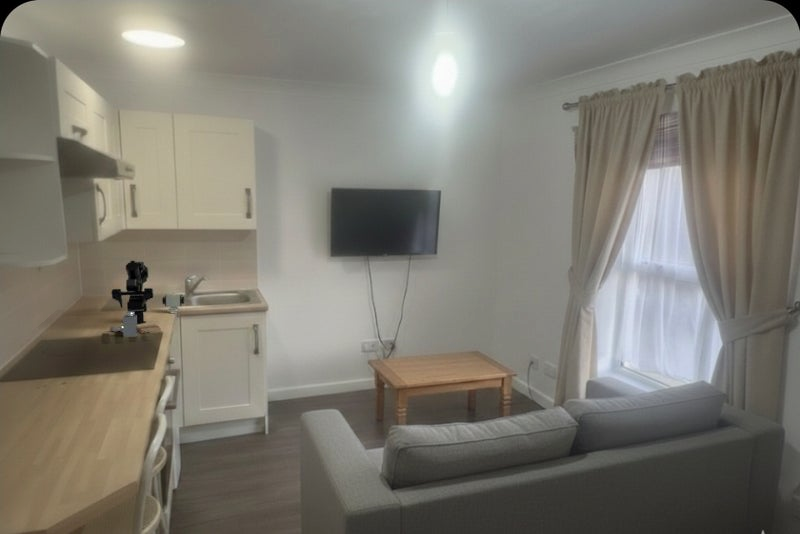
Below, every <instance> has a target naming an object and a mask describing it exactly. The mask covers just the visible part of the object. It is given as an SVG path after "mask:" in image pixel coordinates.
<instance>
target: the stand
mask: <svg viewBox="0 0 800 534" xmlns="http://www.w3.org/2000/svg"><path fill="white" fill-rule="evenodd" d="M161 329H162V327H160V326H159V325H157V324H155V323H154V324H148V325H140V326H138V325H137V332H139V334H141V333H142V332H144V331H147V332H150V333H149V334H151V333H152V334H153V333H160V332H162V331H161Z"/></svg>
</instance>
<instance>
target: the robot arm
mask: <svg viewBox="0 0 800 534" xmlns="http://www.w3.org/2000/svg"><path fill="white" fill-rule="evenodd" d="M125 271H126V275H127V279H126V282H125V290H124V291H122V289H121V288H113V289H112V290H111V297H112V299H113V300H115V301H117V302H118V304H119V305H120V309H122V308H123V299H122V298H123V297H122V296H129V297H128V301H127V303H126V304H127V305H126V306H127V311H134V313H135V315H137V325H140V324H144V323H147V321H146V320H144V319H145V317H144V316H145V315H144V313H146V312H147V311H148V309H147V307H148V305H147V302H148V301H149V300H151V299H153V298H154V290H153V288H151V287H145V288H144V284H145V283H146V282H147V280H148V278H149V267H147V266H146V265H145V262H144V261H135V260H130V261H129V262H128V263H127V264H126V265H125Z"/></svg>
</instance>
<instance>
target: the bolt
mask: <svg viewBox="0 0 800 534" xmlns="http://www.w3.org/2000/svg"><path fill="white" fill-rule="evenodd" d="M109 331H110V332H112V333H119V332H118V331H121V332H120V333H124V332H123V324H122V325H121V326H119V327H118V326H110V327H109Z"/></svg>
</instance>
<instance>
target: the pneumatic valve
mask: <svg viewBox="0 0 800 534" xmlns="http://www.w3.org/2000/svg"><path fill="white" fill-rule="evenodd" d="M185 298H186V297H185V296H183V294H175V293H172V294H165V295H164V296H163V297H162V300H161V301H162V305H164V307H170V308H168V313H170V312H173V313H175V315H176V314H178V313H179V312H180V311H179V310H180V308H178V307H182V306H183V305H184V304H185V302H186V301H185V300H186V299H185Z"/></svg>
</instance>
